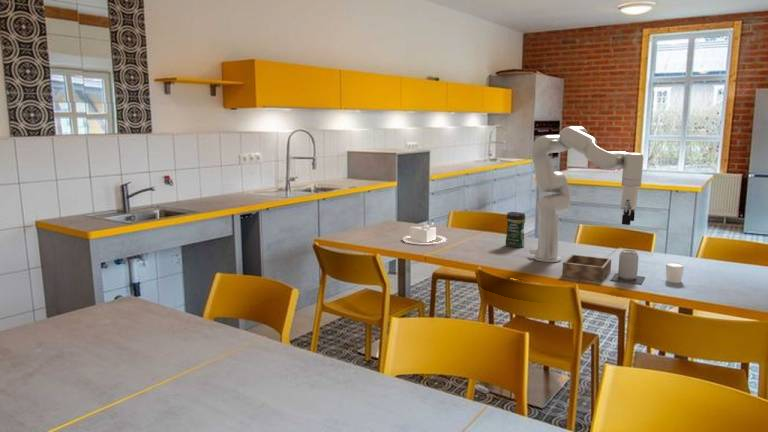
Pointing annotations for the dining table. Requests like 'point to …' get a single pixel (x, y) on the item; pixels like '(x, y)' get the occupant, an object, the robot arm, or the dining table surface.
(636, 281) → the mat
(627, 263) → the can
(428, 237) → the dish
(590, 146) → the robot arm
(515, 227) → the coffee jar
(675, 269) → the shot glass
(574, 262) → the crate
